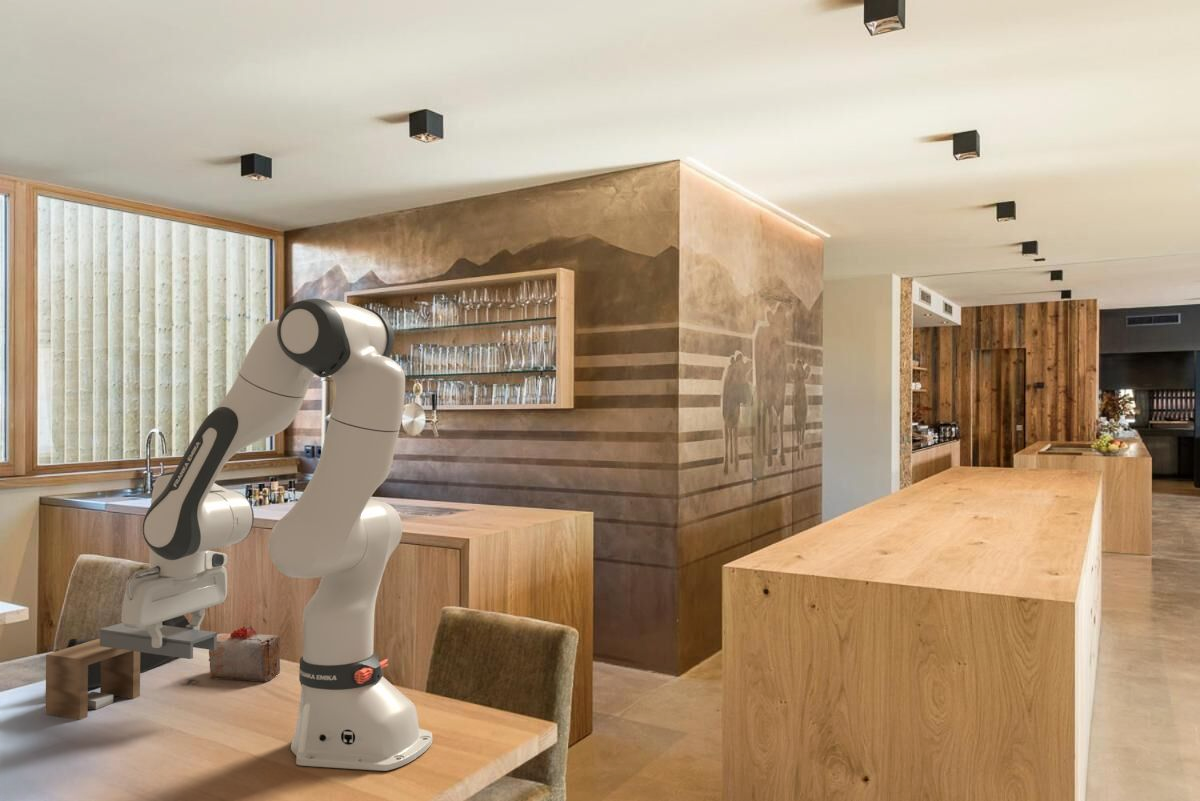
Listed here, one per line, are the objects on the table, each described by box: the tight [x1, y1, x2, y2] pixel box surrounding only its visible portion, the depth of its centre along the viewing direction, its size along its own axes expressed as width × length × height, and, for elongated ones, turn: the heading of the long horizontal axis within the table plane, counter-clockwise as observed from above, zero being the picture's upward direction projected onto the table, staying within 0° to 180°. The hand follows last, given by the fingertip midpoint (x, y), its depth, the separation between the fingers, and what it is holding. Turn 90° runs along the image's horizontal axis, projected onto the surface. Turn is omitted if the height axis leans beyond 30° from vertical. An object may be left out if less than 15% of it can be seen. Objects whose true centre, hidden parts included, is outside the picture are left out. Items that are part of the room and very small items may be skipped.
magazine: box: [65, 614, 190, 689], centre depth 168 cm, size 17×3×30 cm
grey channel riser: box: [99, 622, 218, 660], centre depth 147 cm, size 20×6×3 cm, turn 72°
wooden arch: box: [44, 637, 141, 720], centre depth 152 cm, size 8×12×10 cm, turn 162°
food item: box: [208, 624, 281, 682], centre depth 168 cm, size 14×8×10 cm, turn 80°
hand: (176, 640), depth 146 cm, fingers closed on grey channel riser, 6 cm apart
